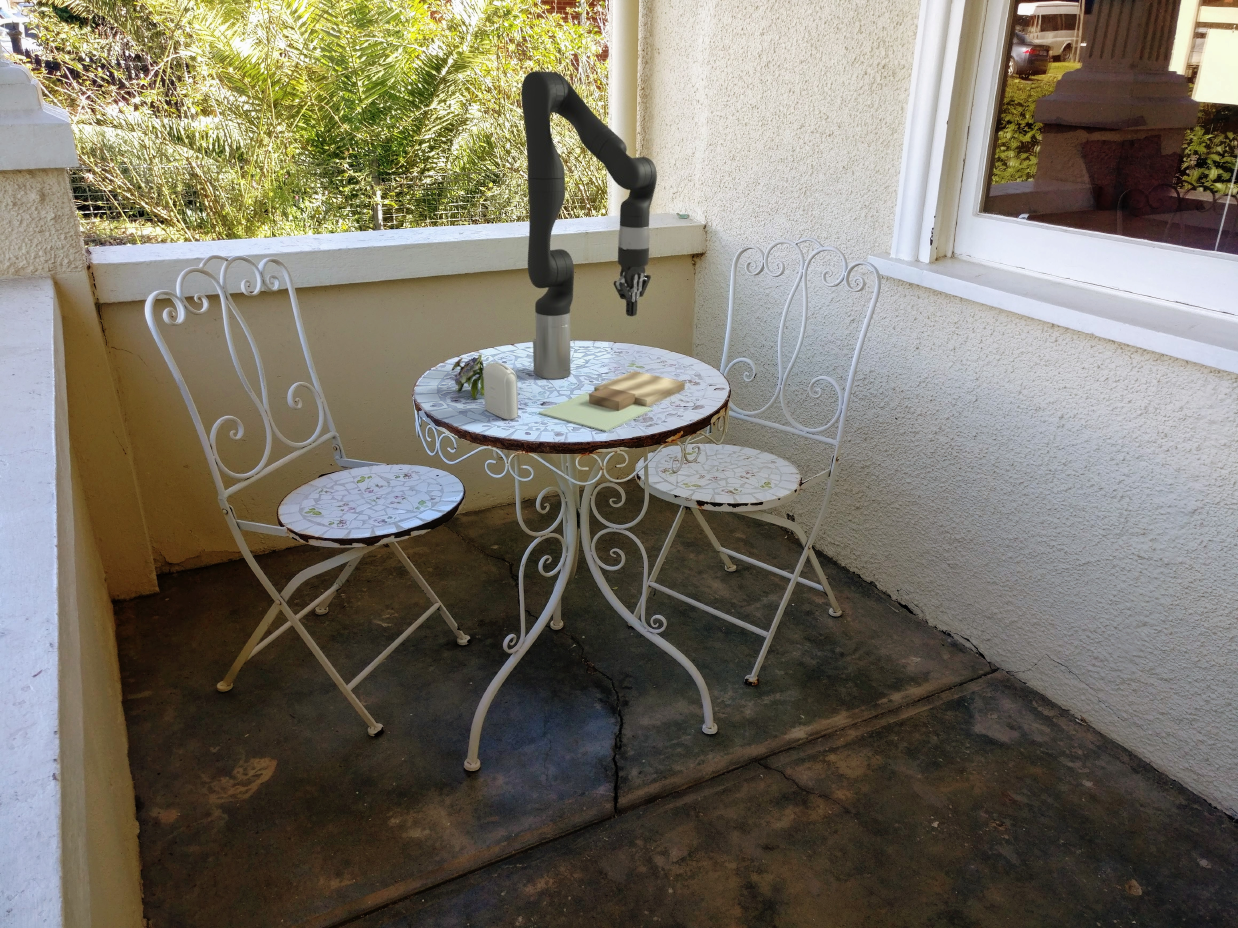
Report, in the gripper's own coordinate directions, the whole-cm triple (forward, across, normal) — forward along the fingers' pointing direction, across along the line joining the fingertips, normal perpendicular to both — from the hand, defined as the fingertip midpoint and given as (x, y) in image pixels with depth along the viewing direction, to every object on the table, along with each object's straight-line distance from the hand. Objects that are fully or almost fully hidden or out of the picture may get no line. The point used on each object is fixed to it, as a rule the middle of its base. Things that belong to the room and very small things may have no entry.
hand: (631, 315), depth 220 cm
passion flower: (+21, +25, -30) cm, 44 cm away
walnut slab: (+20, +11, +3) cm, 23 cm away
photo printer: (+20, +33, -14) cm, 41 cm away
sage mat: (+20, +17, +3) cm, 27 cm away
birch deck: (+20, -2, +2) cm, 20 cm away
